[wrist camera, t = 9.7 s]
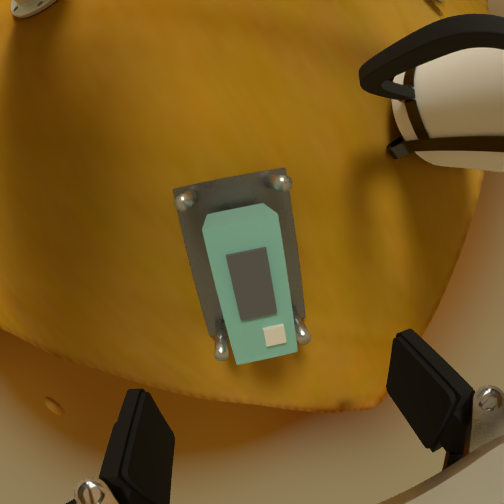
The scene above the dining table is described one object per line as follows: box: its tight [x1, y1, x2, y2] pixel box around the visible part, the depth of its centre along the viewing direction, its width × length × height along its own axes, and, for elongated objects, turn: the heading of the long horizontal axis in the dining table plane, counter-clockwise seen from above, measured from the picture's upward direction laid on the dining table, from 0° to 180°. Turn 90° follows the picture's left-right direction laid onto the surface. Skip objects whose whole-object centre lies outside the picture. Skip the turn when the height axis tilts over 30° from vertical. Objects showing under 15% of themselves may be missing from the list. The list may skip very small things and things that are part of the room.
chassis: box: [173, 168, 311, 361], centre depth 24 cm, size 15×10×6 cm, turn 10°
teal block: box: [202, 203, 298, 365], centre depth 20 cm, size 10×4×6 cm, turn 10°
